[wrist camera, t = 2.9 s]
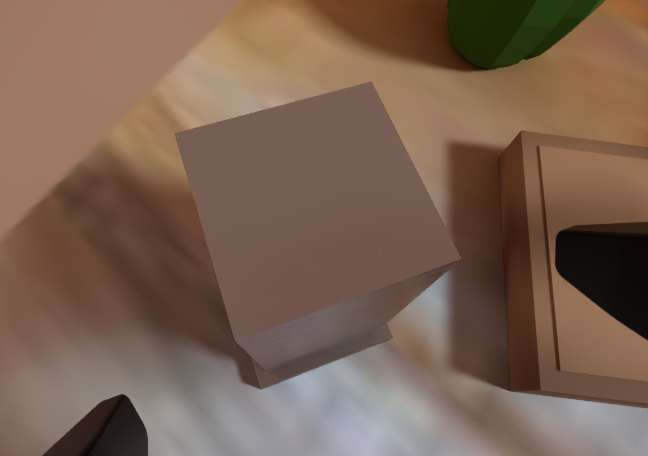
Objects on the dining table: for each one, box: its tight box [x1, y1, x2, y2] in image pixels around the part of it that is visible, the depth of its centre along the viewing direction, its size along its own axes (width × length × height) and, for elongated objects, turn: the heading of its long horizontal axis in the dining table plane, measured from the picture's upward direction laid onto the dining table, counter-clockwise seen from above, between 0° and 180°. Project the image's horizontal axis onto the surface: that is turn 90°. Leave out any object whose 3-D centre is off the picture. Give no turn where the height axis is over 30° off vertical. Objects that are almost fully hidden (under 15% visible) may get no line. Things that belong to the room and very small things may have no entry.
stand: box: [499, 131, 648, 408], centre depth 20 cm, size 12×12×3 cm
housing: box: [175, 82, 461, 390], centre depth 15 cm, size 6×6×11 cm
